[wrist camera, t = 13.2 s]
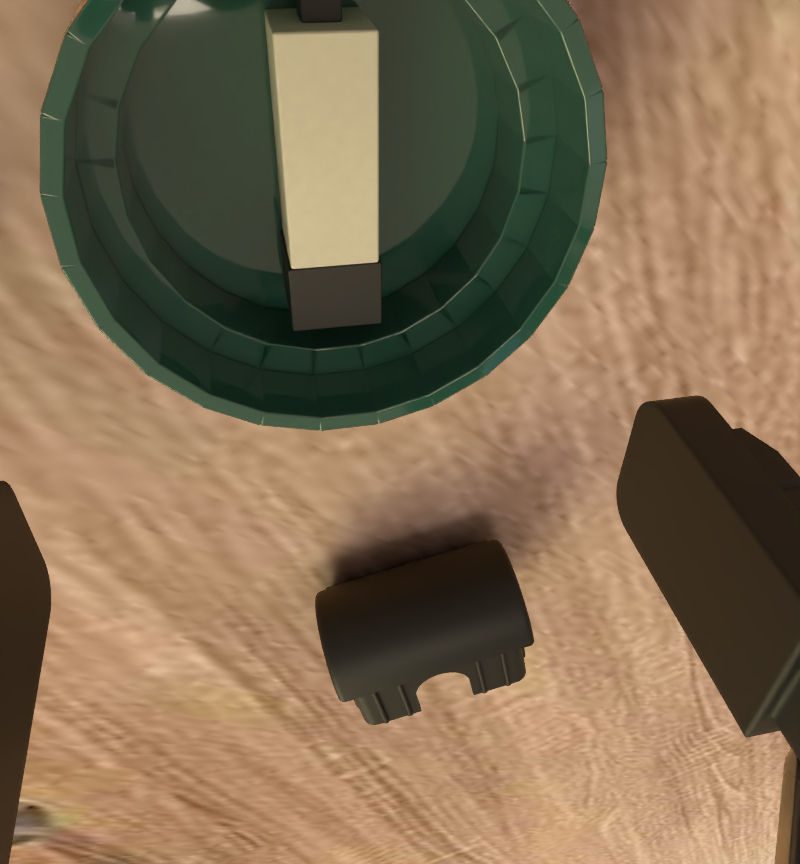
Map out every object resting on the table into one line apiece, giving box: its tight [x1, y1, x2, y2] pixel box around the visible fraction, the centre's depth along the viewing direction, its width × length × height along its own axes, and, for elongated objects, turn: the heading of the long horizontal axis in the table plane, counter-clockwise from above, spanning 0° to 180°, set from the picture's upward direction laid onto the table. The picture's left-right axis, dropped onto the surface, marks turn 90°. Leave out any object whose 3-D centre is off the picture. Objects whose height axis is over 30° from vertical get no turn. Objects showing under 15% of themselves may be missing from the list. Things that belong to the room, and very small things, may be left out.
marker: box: [264, 0, 382, 331], centre depth 25 cm, size 10×3×3 cm, turn 179°
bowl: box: [40, 0, 607, 431], centre depth 25 cm, size 16×16×6 cm
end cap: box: [315, 540, 534, 725], centre depth 40 cm, size 10×7×7 cm
